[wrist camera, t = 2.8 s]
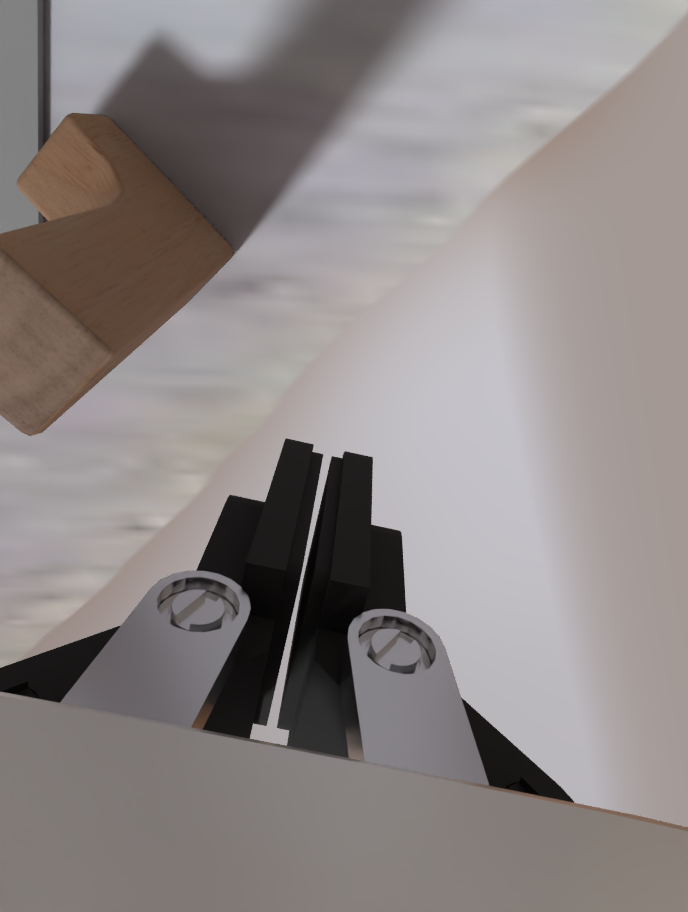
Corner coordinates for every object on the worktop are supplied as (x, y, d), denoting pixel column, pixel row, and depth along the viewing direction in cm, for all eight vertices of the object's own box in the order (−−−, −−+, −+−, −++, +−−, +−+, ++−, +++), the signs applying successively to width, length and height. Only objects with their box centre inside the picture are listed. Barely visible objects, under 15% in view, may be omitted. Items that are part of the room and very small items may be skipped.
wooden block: (54, 178, 33) (-249, 218, 17) (106, 111, 32) (-171, 87, 16) (184, 306, 36) (29, 445, 20) (238, 250, 34) (118, 352, 18)
